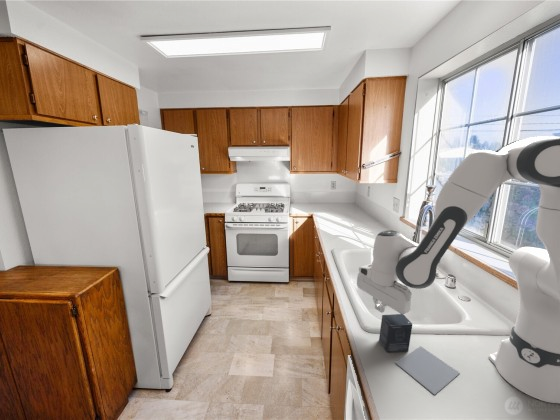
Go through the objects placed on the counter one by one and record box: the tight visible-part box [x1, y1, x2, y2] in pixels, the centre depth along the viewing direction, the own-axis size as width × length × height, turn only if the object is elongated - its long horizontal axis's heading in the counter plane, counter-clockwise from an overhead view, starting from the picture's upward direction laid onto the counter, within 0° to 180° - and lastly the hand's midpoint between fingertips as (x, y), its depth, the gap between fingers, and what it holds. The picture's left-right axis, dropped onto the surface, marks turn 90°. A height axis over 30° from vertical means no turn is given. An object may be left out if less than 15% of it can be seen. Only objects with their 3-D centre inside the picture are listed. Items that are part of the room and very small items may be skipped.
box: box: [378, 313, 413, 353], centre depth 83 cm, size 8×6×11 cm
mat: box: [395, 346, 461, 396], centre depth 75 cm, size 14×12×1 cm
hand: (379, 310), depth 88 cm, fingers closed
